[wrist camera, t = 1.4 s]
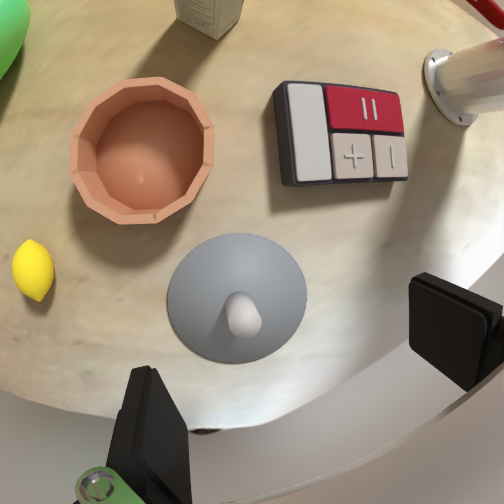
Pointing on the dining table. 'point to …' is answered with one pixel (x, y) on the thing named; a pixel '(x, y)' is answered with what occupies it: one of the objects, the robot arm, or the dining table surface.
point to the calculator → (338, 134)
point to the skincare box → (209, 15)
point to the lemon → (33, 270)
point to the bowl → (141, 150)
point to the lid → (237, 298)
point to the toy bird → (12, 30)
